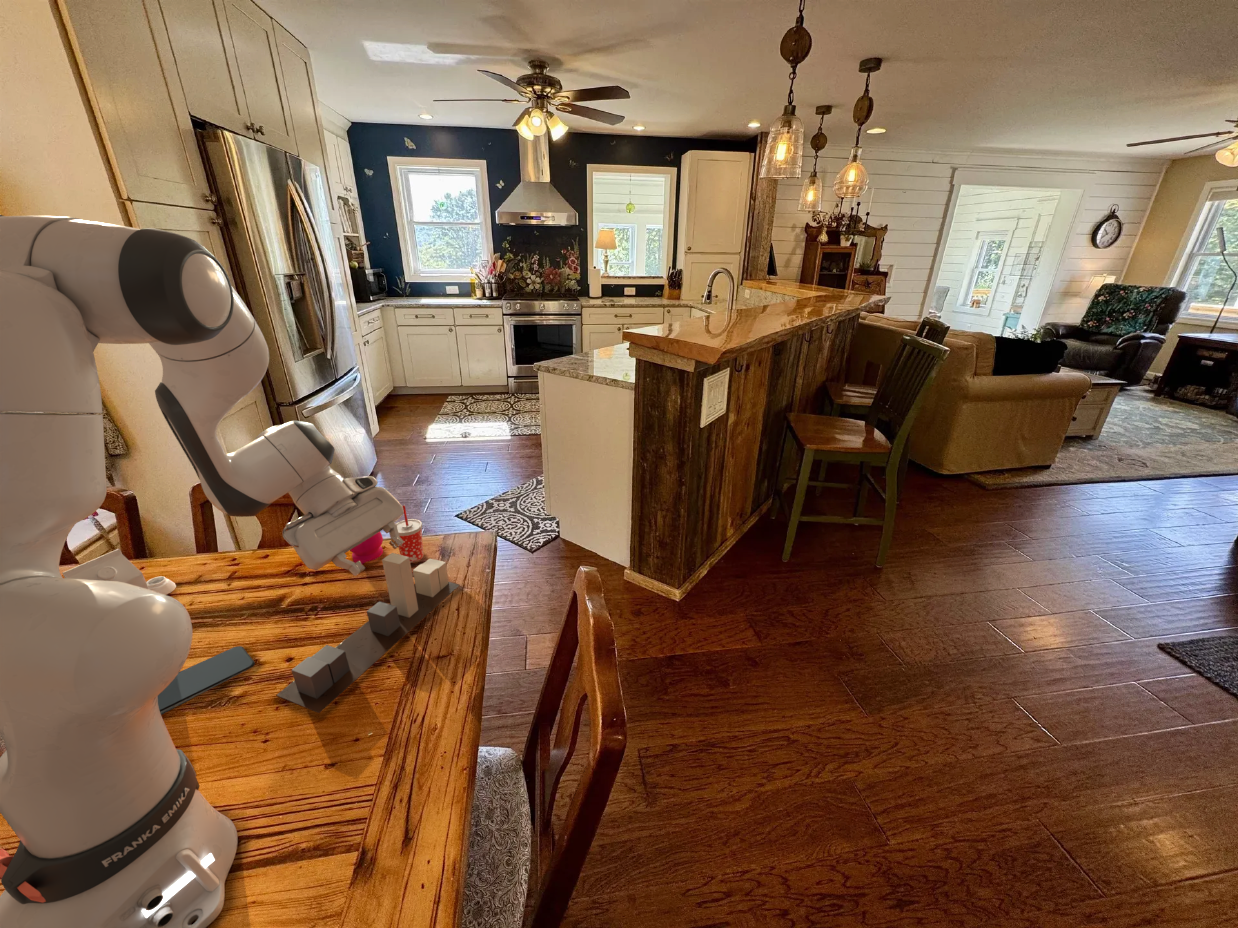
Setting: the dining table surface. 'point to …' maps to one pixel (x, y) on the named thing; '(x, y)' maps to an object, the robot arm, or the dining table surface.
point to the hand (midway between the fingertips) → (380, 558)
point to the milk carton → (109, 570)
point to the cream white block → (430, 577)
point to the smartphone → (204, 677)
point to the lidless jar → (161, 585)
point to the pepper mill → (368, 549)
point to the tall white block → (400, 584)
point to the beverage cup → (410, 538)
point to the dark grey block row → (339, 655)
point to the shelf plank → (366, 651)
